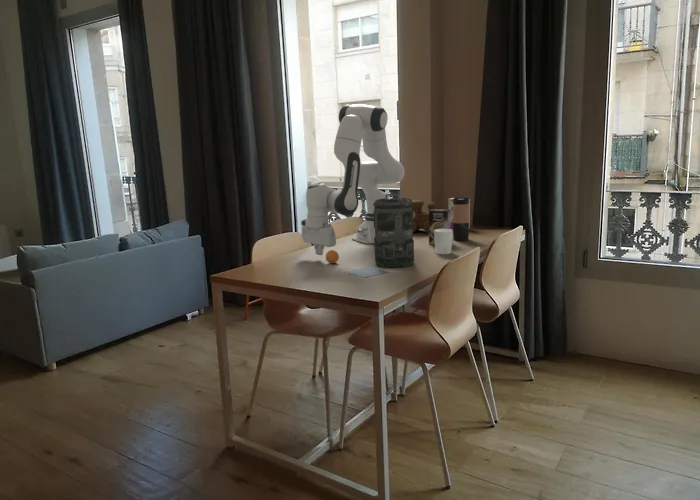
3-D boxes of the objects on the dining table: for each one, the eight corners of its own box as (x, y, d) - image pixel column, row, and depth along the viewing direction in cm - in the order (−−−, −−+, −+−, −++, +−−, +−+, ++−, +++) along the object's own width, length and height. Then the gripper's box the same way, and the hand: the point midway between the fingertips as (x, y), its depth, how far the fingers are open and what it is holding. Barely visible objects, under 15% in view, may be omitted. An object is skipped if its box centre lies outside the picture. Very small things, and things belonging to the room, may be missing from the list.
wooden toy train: (400, 233, 284) (400, 202, 280) (407, 229, 294) (407, 199, 291) (437, 234, 276) (437, 202, 272) (443, 230, 286) (443, 199, 282)
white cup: (452, 254, 227) (452, 231, 225) (433, 254, 229) (433, 231, 227) (452, 251, 235) (452, 228, 233) (434, 251, 236) (434, 228, 234)
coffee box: (428, 244, 250) (428, 210, 247) (431, 242, 256) (431, 208, 253) (447, 245, 247) (447, 210, 244) (450, 242, 253) (450, 208, 250)
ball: (323, 263, 221) (322, 250, 219) (334, 261, 224) (333, 248, 223) (331, 265, 216) (330, 252, 215) (341, 263, 220) (341, 250, 219)
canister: (422, 262, 215) (421, 193, 210) (397, 270, 204) (395, 197, 199) (392, 257, 226) (390, 191, 221) (366, 264, 215) (364, 195, 210)
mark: (344, 272, 204) (344, 271, 204) (368, 267, 211) (368, 266, 211) (364, 278, 195) (364, 277, 195) (389, 272, 202) (389, 271, 202)
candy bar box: (447, 228, 291) (447, 198, 288) (452, 227, 295) (452, 197, 291) (465, 230, 284) (465, 199, 280) (470, 229, 287) (470, 198, 284)
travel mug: (469, 238, 261) (470, 197, 257) (468, 241, 254) (468, 199, 250) (454, 238, 264) (454, 197, 260) (451, 240, 257) (451, 199, 253)
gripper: (338, 223, 218) (340, 256, 220) (310, 219, 234) (312, 250, 236) (326, 225, 214) (328, 259, 217) (298, 221, 230) (300, 252, 232)
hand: (319, 254), depth 227 cm, fingers closed
